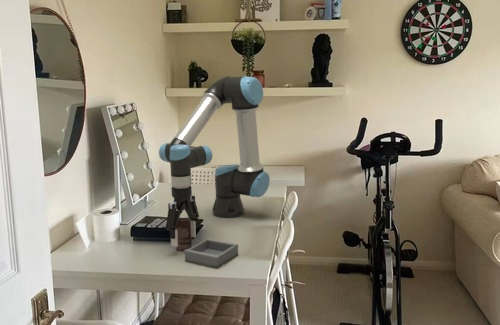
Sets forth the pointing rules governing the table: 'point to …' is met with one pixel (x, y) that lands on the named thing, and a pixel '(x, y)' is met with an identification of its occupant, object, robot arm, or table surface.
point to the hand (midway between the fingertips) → (183, 241)
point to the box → (184, 234)
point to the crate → (211, 253)
